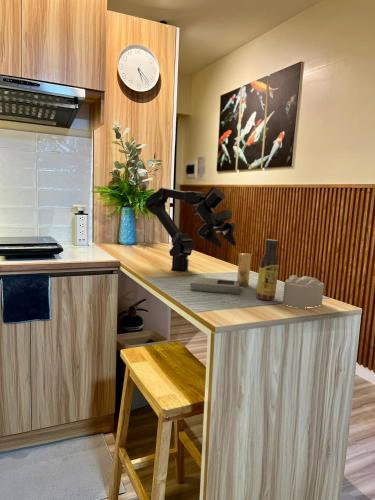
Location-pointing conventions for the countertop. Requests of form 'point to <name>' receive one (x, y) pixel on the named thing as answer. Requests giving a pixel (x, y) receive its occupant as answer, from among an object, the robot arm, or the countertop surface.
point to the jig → (215, 285)
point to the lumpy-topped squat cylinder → (303, 292)
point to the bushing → (244, 269)
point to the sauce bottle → (268, 272)
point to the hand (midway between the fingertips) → (228, 246)
